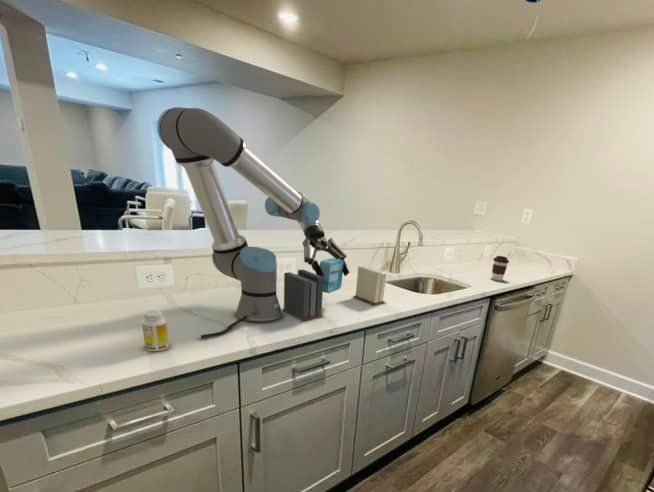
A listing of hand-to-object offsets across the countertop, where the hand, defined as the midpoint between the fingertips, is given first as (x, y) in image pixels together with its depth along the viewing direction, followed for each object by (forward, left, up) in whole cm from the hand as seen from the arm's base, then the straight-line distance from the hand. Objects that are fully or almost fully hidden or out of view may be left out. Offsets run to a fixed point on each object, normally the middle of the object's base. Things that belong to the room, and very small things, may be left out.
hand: (334, 275), depth 150 cm
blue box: (0, +2, -7) cm, 7 cm away
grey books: (-14, +1, -14) cm, 20 cm away
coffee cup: (+138, -7, -14) cm, 139 cm away
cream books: (+23, +1, -14) cm, 27 cm away
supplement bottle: (-65, -2, -14) cm, 67 cm away
